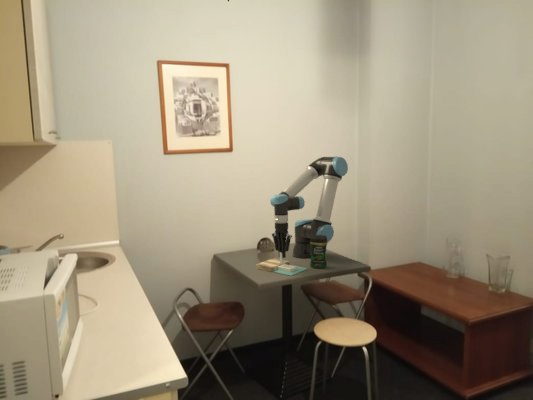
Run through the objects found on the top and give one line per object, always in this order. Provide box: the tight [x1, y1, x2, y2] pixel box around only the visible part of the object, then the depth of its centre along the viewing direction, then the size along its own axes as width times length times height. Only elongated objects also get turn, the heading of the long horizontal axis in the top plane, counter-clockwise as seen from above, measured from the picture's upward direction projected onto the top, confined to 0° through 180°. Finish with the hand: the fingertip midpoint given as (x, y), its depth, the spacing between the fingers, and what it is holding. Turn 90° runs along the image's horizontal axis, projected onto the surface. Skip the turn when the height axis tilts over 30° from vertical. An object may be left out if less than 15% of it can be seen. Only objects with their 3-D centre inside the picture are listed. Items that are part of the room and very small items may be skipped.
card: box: [278, 264, 297, 272], centre depth 226 cm, size 6×9×2 cm, turn 50°
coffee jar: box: [310, 235, 329, 269], centre depth 230 cm, size 10×8×19 cm
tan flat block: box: [255, 258, 290, 273], centre depth 233 cm, size 16×12×2 cm
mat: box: [272, 264, 309, 277], centre depth 225 cm, size 16×13×1 cm
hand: (282, 263), depth 228 cm, fingers closed
